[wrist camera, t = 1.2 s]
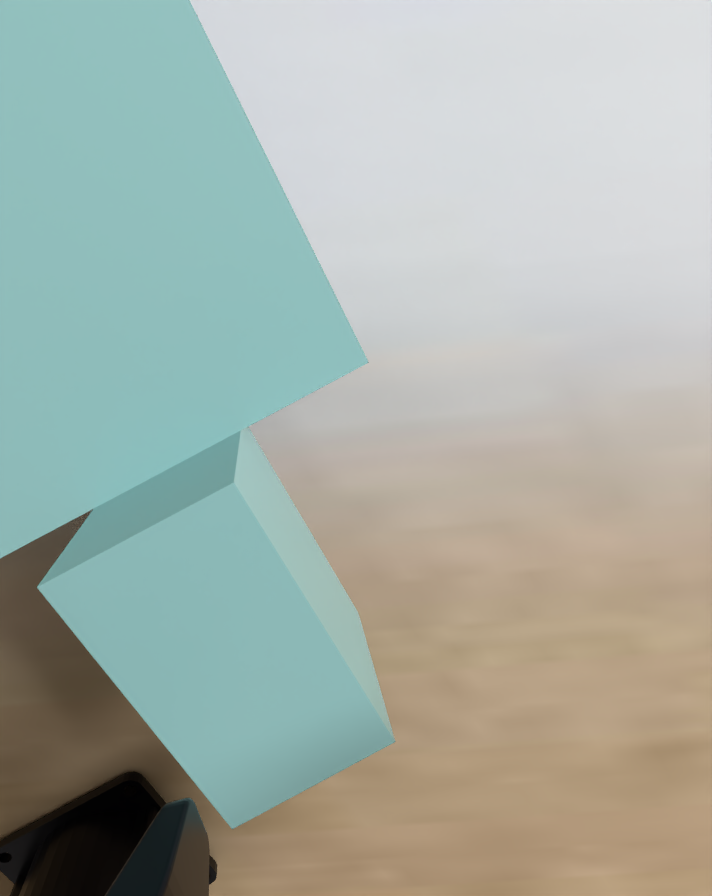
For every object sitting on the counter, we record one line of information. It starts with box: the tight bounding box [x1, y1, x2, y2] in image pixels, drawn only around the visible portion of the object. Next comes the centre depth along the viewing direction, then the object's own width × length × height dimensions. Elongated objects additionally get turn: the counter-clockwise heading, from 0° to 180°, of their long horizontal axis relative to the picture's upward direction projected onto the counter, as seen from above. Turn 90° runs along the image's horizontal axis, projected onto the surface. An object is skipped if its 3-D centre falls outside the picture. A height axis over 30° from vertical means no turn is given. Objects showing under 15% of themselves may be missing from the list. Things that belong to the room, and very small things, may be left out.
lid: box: [0, 0, 395, 829], centre depth 10 cm, size 10×21×5 cm, turn 27°
